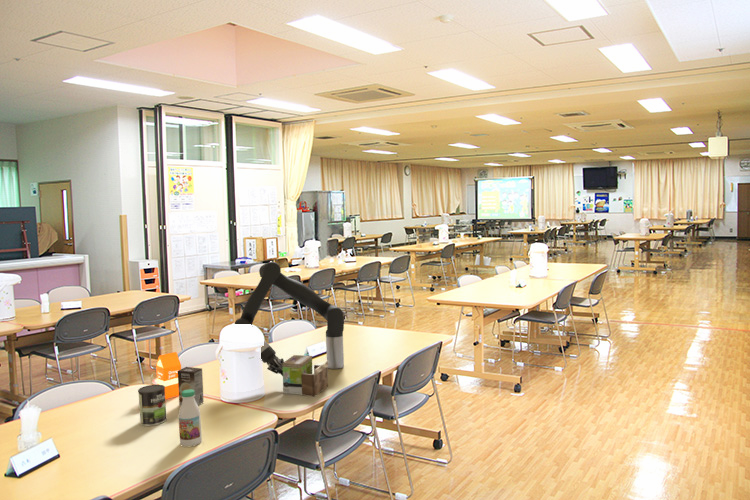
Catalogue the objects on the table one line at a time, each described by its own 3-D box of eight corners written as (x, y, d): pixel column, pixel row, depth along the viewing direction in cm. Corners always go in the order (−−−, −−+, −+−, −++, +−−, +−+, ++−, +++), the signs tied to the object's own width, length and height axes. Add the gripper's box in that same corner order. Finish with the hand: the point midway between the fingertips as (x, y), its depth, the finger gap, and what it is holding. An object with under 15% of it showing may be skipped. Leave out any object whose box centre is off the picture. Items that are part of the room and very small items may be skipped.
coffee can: (172, 419, 227) (170, 386, 226) (150, 428, 218) (148, 394, 217) (156, 414, 232) (154, 382, 231) (134, 423, 224) (132, 390, 223)
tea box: (303, 394, 252) (301, 363, 251) (282, 393, 255) (281, 362, 253) (313, 384, 267) (312, 354, 266) (294, 383, 269) (293, 354, 268)
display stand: (315, 384, 266) (314, 360, 265) (329, 385, 264) (328, 360, 263) (302, 395, 252) (301, 369, 251) (316, 396, 250) (315, 370, 249)
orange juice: (183, 394, 258) (180, 353, 257) (165, 399, 252) (162, 357, 250) (175, 390, 263) (172, 350, 262) (157, 395, 257) (154, 354, 255)
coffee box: (178, 405, 243) (176, 370, 242) (187, 400, 249) (185, 366, 248) (195, 407, 240) (193, 372, 239) (204, 402, 246) (202, 367, 245)
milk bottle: (183, 439, 207) (180, 388, 205) (204, 438, 207) (201, 386, 206) (177, 448, 199) (174, 395, 197) (199, 446, 200) (196, 393, 198)
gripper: (261, 349, 258) (285, 376, 255) (275, 342, 270) (298, 368, 267) (252, 359, 260) (276, 386, 257) (266, 352, 272) (289, 378, 269)
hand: (287, 377), depth 262 cm, fingers closed
